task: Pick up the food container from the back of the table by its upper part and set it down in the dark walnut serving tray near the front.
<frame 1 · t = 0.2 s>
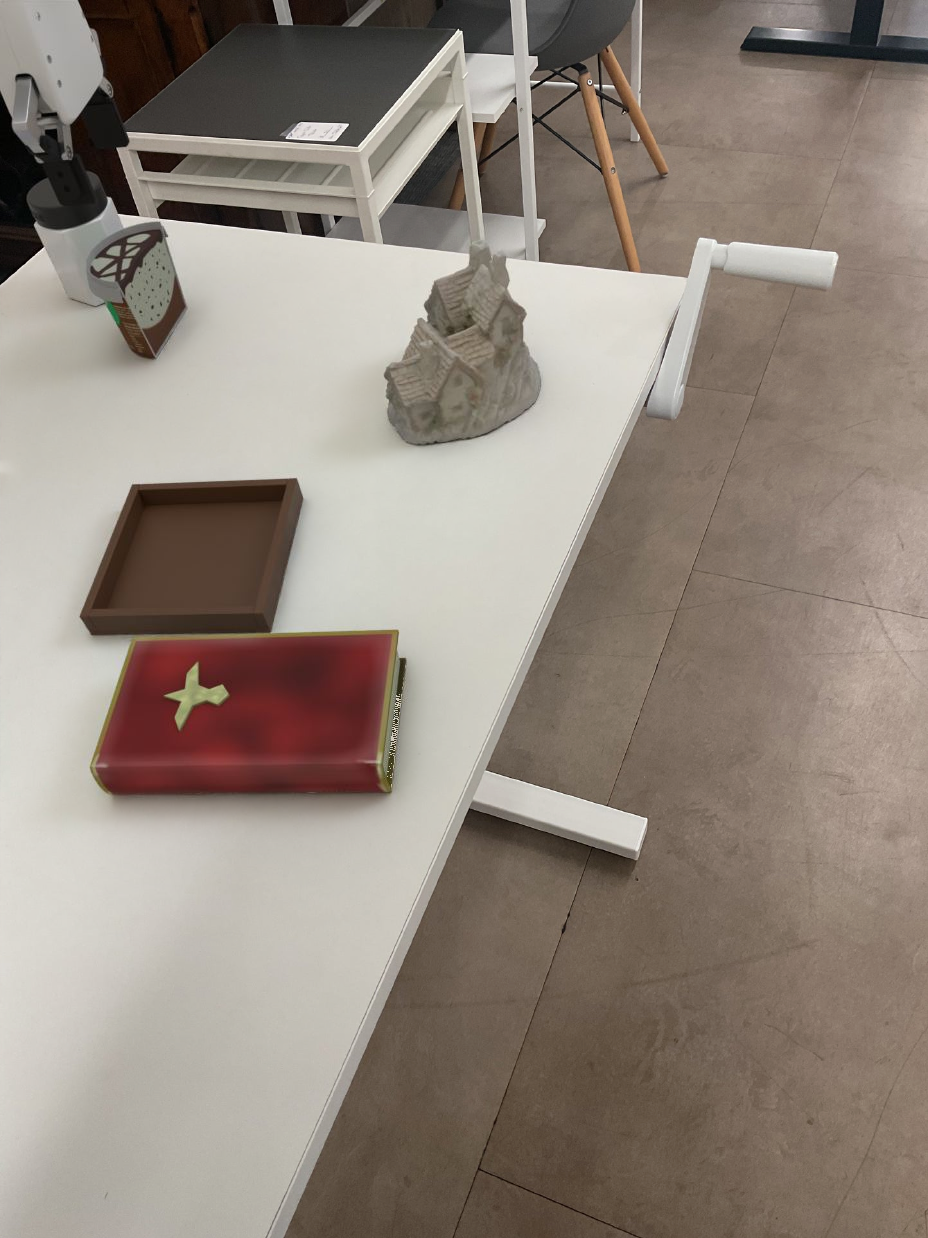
hand: (97, 173, 88), 23 cm above the table, tool pointing down, fingers open, 9 cm apart
jar: (106, 286, 119), on the table
ceramic cottage: (459, 386, 100), on the table
tray: (202, 563, 88), on the table
food container: (147, 333, 112), on the table
hardcover book: (263, 729, 77), on the table
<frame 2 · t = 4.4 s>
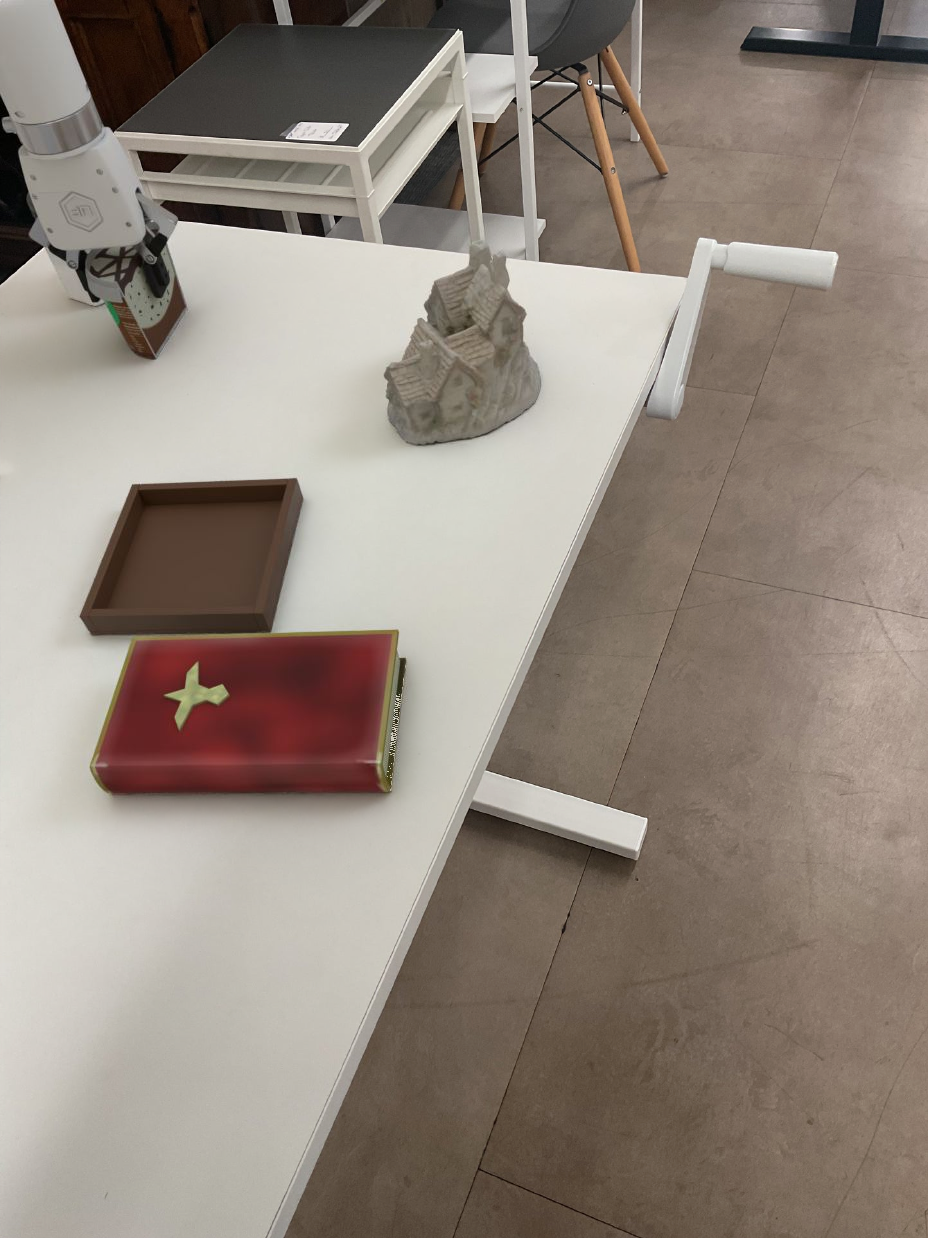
hand: (130, 291, 108), 5 cm above the table, tool pointing down, fingers closed on food container, 6 cm apart
food container: (147, 333, 112), on the table, touching gripper
everything else where it was.
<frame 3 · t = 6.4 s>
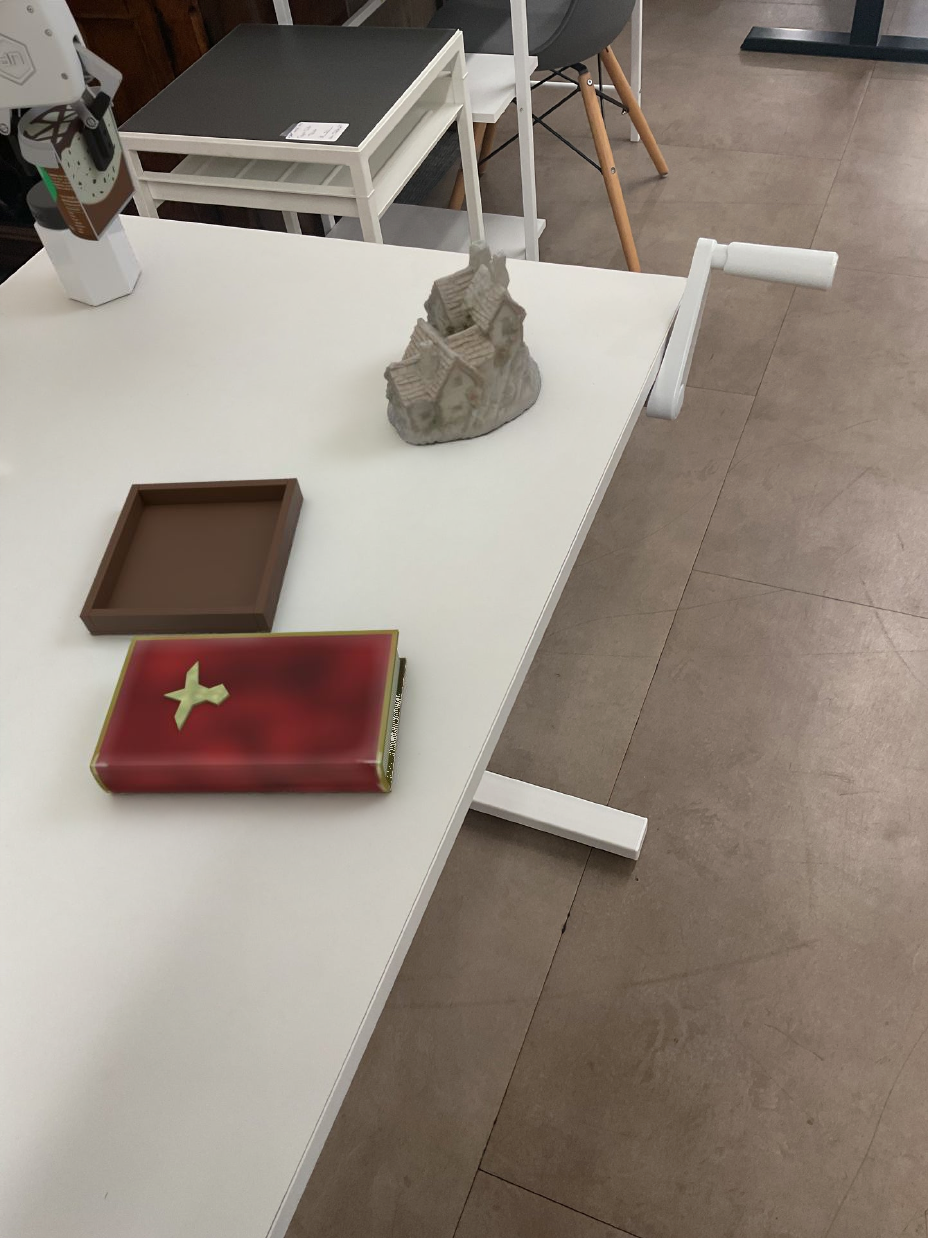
hand: (70, 165, 97), 19 cm above the table, tool pointing down, fingers closed on food container, 6 cm apart
food container: (91, 217, 101), point 14 cm above the table, touching gripper
everything else where it was.
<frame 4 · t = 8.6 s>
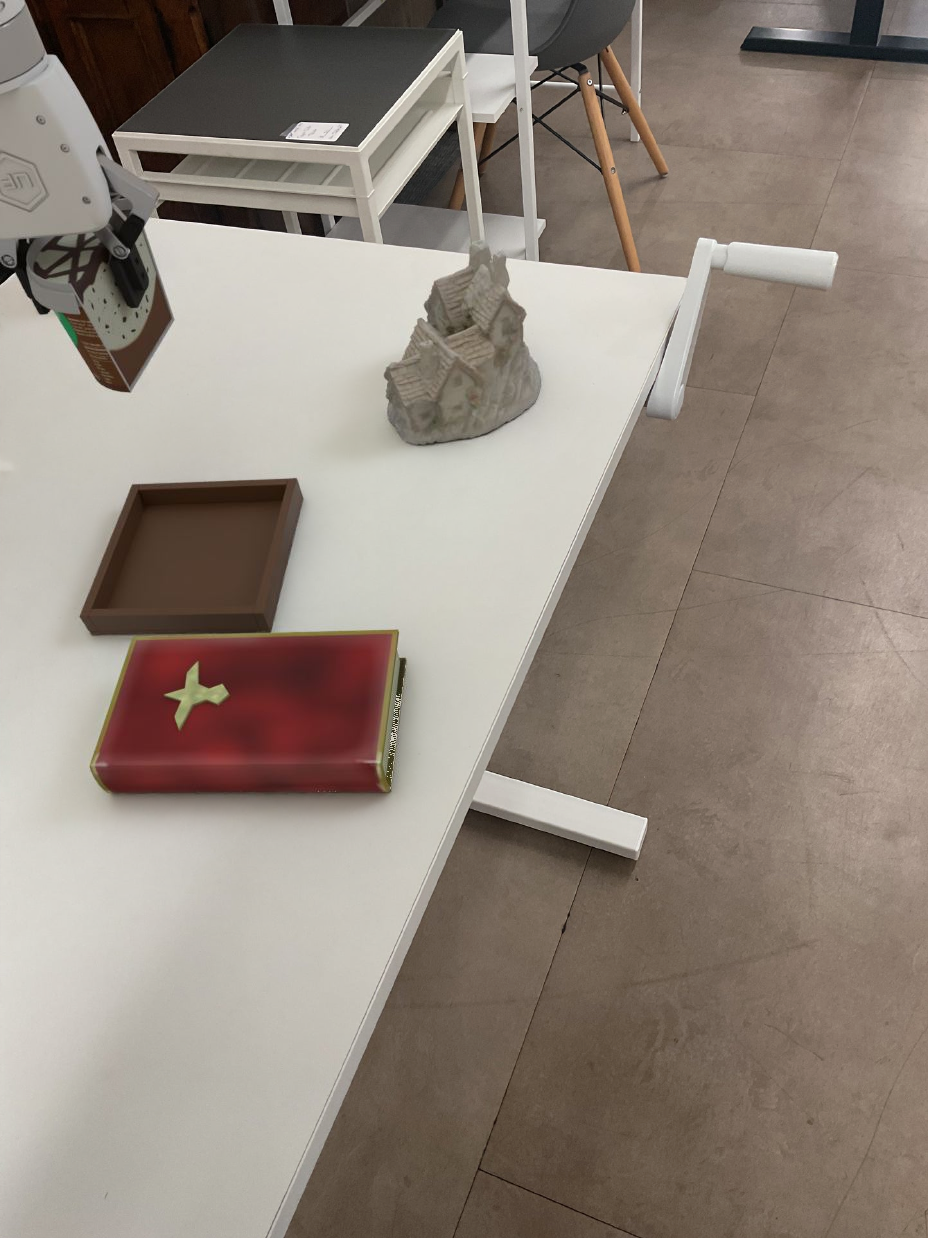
hand: (93, 298, 76), 22 cm above the table, tool pointing down, fingers closed on food container, 6 cm apart
food container: (119, 356, 81), point 17 cm above the table, touching gripper
everything else where it was.
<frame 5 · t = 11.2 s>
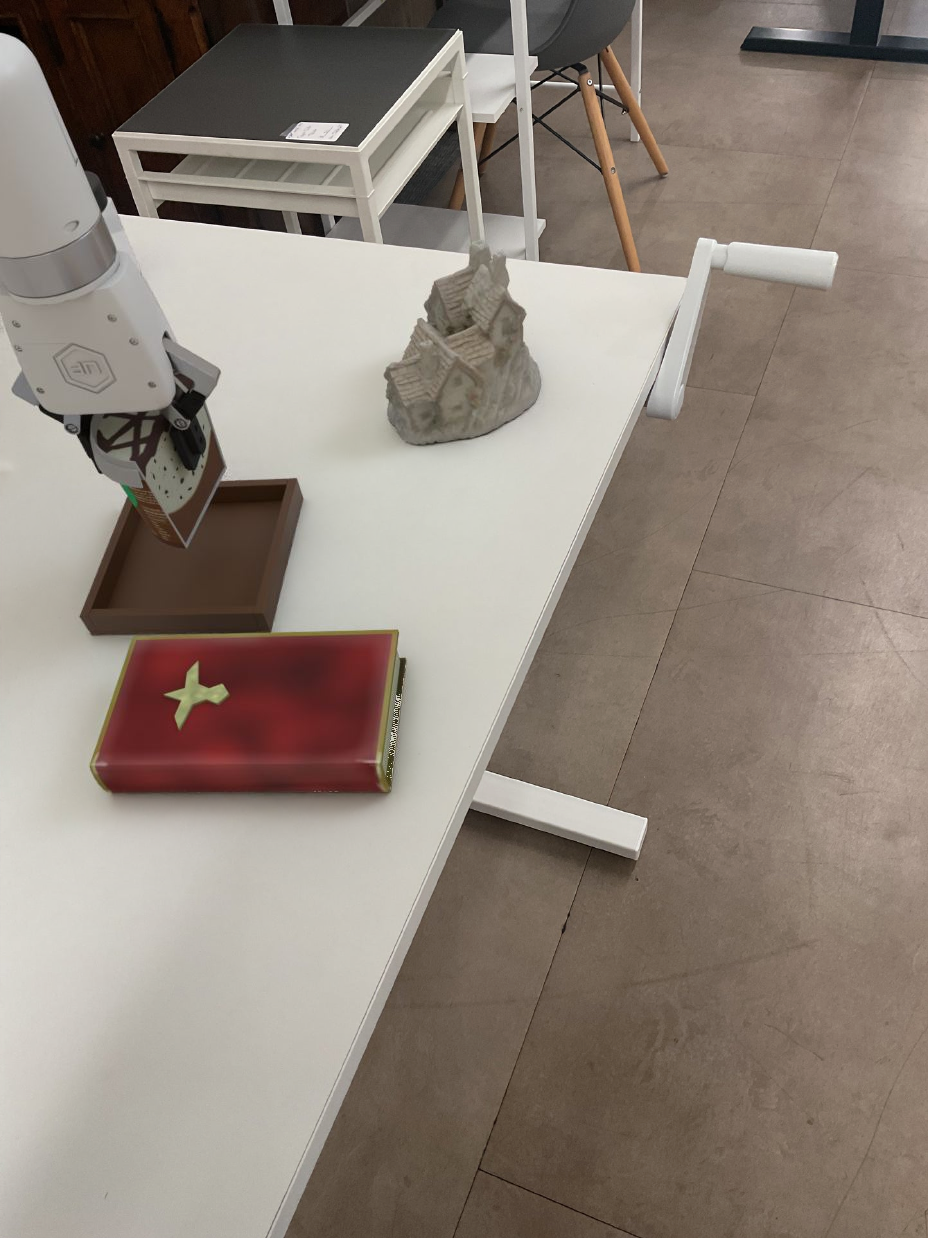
hand: (152, 458, 79), 12 cm above the table, tool pointing down, fingers closed on food container, 6 cm apart
food container: (174, 506, 83), point 7 cm above the table, touching gripper
everything else where it was.
when the fingers open (6 cm above the table, at t = 13.3 s): food container stays where it is, resting on tray.
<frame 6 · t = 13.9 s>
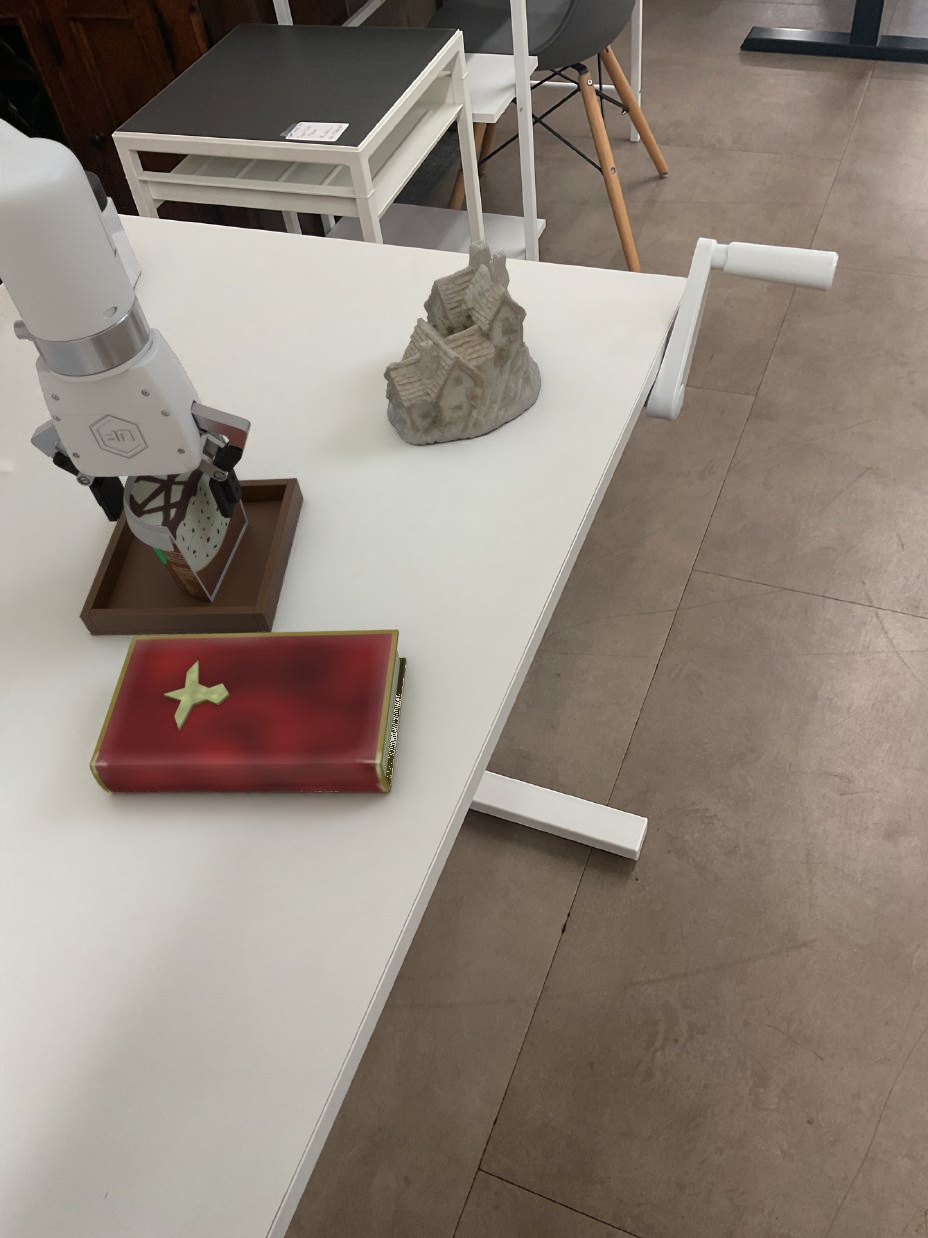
hand: (175, 507, 83), 7 cm above the table, tool pointing down, fingers open, 9 cm apart
food container: (199, 560, 88), resting on tray
everything else where it was.
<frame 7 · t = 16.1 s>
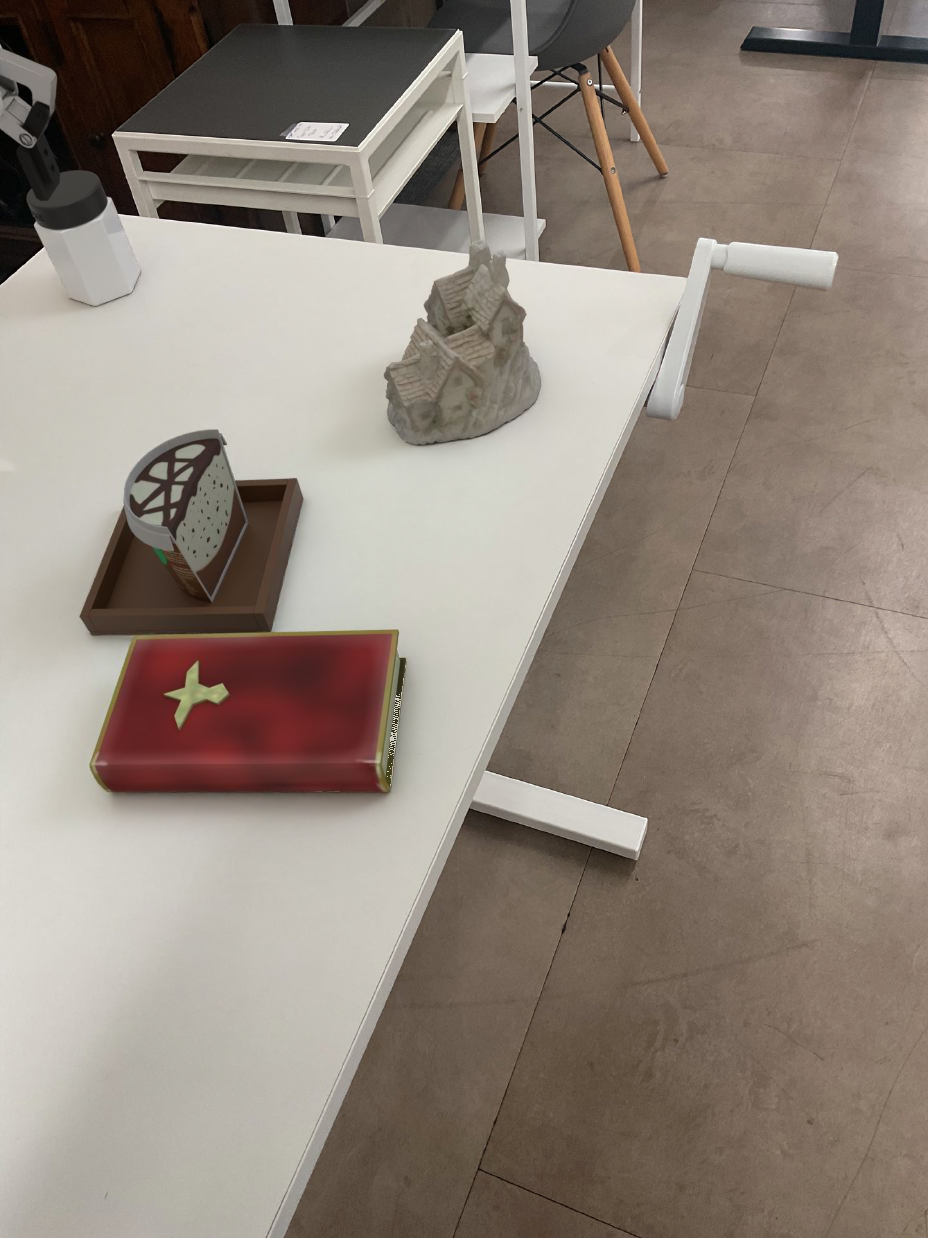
nothing on the table moved.
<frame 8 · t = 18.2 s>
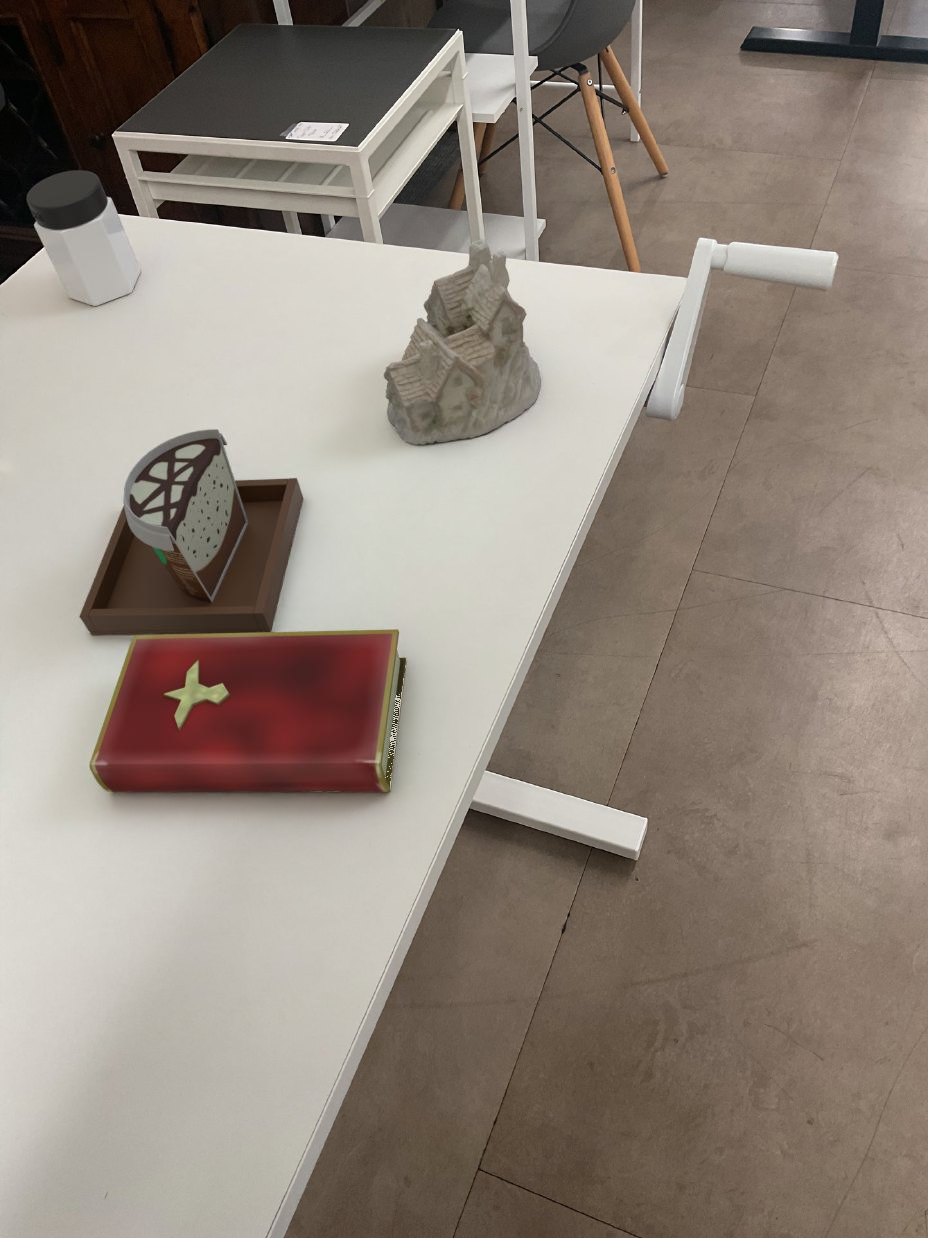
nothing on the table moved.
at the end: food container inside the target area in the tray (0.2 cm from its centre), point 0.3 cm above the tray's base; food container tilted 0°; the gripper is holding nothing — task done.
